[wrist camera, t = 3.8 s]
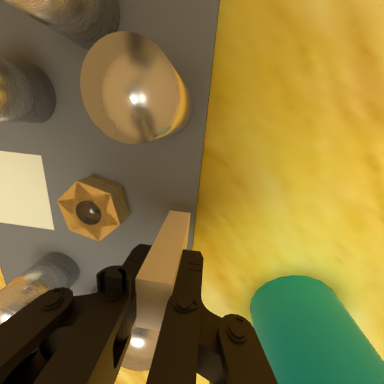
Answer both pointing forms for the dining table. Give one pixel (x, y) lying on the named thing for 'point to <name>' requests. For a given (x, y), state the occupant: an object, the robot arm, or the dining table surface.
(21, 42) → the mat
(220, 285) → the dining table surface
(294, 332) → the mug
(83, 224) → the nut
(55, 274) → the spacers
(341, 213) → the dining table surface
